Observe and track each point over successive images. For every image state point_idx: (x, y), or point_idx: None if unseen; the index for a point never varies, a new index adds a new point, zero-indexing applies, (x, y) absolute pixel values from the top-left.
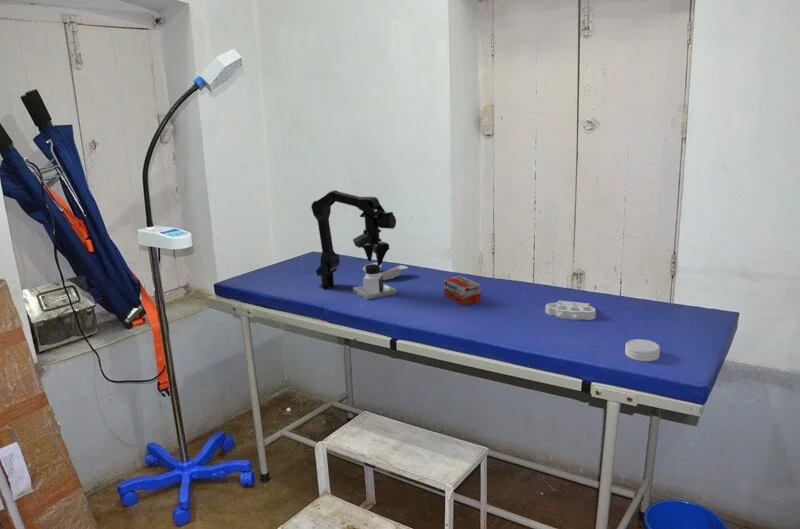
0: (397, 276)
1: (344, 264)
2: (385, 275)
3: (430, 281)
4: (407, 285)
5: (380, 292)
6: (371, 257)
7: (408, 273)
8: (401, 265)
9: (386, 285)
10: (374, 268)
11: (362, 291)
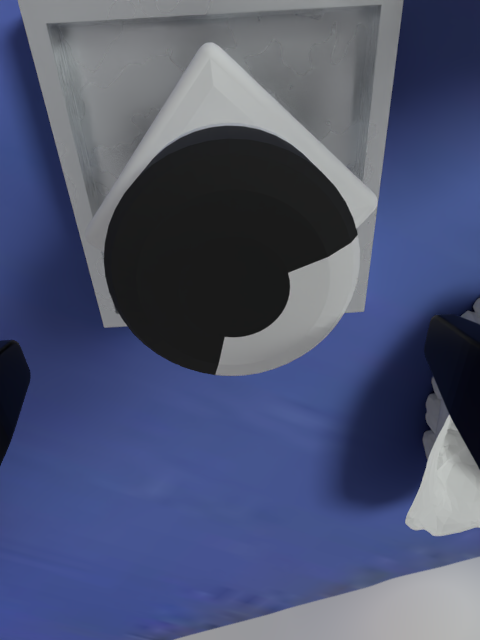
0: (423, 439)
1: None
2: None
3: (231, 520)
4: (240, 422)
5: (79, 187)
6: (449, 408)
7: None
8: None
9: None
10: (105, 263)
11: (299, 74)
